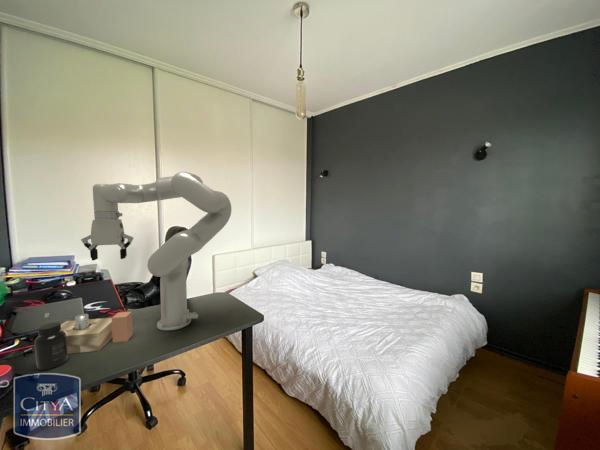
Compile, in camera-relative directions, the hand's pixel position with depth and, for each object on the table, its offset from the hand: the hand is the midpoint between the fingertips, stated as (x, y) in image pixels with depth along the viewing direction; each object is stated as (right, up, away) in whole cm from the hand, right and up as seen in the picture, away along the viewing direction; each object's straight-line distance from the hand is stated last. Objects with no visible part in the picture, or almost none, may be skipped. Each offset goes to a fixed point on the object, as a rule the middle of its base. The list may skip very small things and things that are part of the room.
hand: (109, 259), depth 100 cm
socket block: (0, -28, -12) cm, 30 cm away
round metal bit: (0, -28, -12) cm, 30 cm away
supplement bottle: (+1, -29, -23) cm, 37 cm away
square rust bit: (+12, -28, -9) cm, 31 cm away
